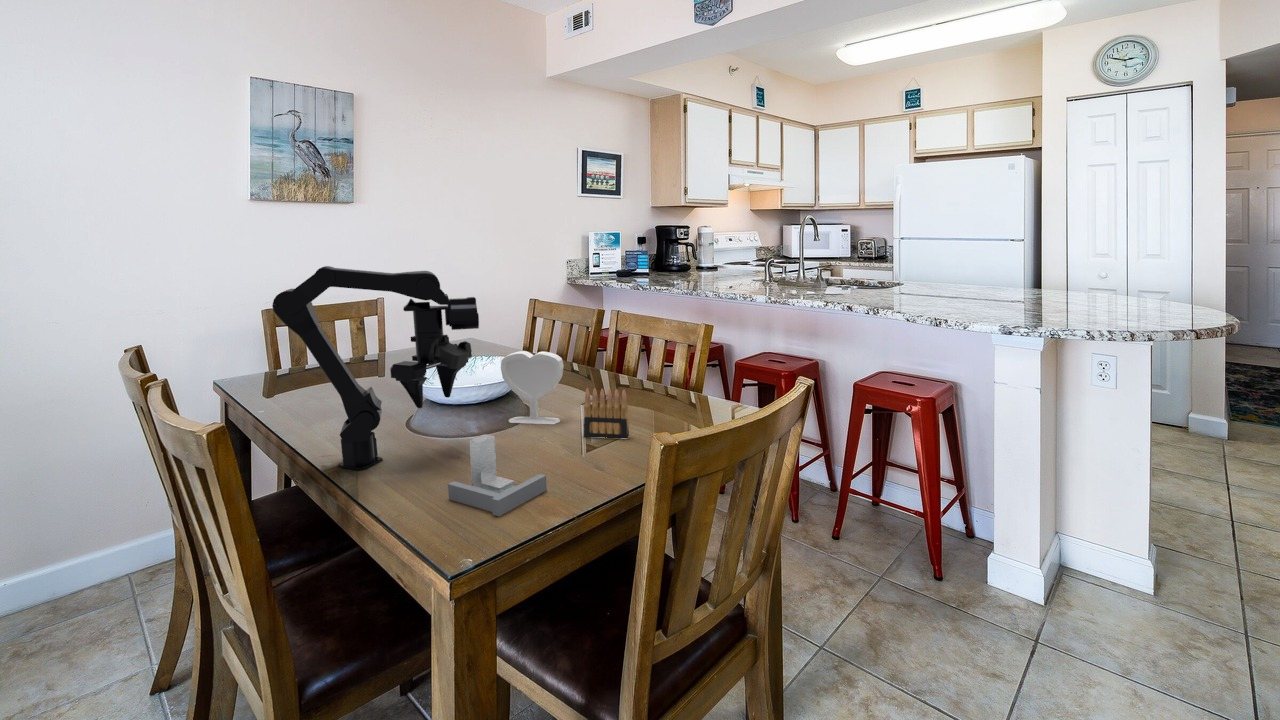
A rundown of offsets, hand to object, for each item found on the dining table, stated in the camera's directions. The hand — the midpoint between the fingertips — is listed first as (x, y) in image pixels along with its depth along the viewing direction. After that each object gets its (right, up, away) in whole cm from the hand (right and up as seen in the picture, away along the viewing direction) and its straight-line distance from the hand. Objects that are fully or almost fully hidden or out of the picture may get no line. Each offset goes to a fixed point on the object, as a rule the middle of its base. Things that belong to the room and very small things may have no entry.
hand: (434, 402), depth 137 cm
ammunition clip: (+36, -9, +14) cm, 40 cm away
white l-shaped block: (+17, -16, -17) cm, 29 cm away
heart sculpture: (+17, -7, +28) cm, 33 cm away
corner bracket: (+18, -16, -19) cm, 30 cm away
